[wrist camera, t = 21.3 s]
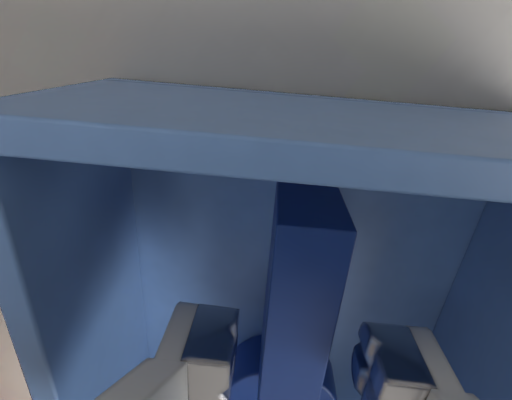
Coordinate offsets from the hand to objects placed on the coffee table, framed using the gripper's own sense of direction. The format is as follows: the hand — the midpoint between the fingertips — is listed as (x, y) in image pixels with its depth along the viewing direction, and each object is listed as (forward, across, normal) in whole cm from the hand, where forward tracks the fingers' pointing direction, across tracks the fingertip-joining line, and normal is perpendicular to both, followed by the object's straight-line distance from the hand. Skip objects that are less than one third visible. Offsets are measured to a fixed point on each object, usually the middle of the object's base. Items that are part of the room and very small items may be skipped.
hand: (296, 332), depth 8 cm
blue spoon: (+3, 0, +2) cm, 3 cm away
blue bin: (+3, 0, +2) cm, 4 cm away
